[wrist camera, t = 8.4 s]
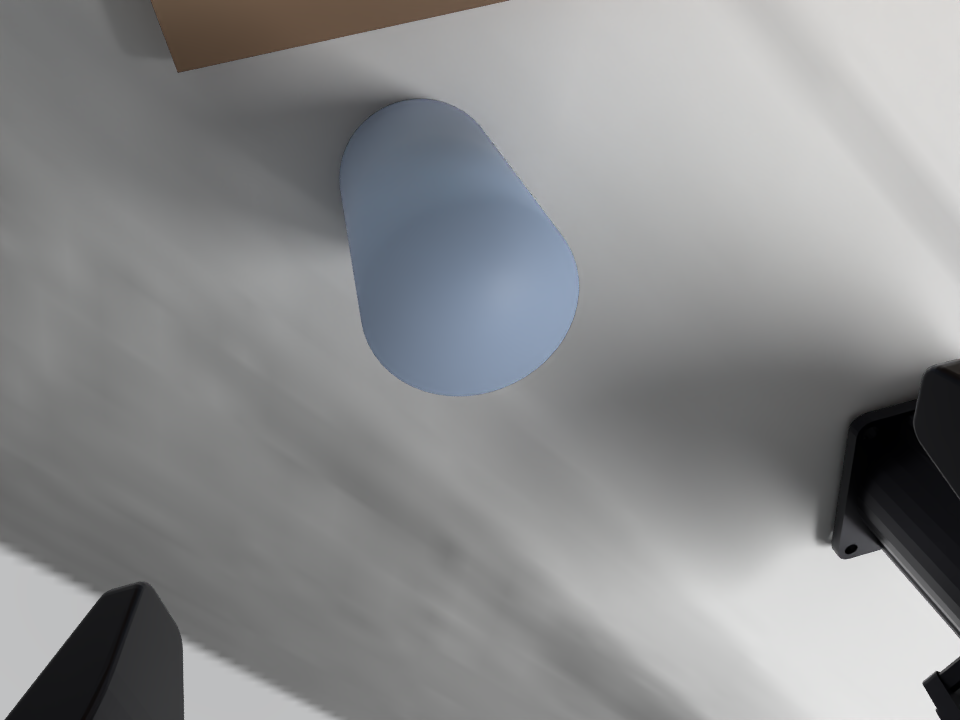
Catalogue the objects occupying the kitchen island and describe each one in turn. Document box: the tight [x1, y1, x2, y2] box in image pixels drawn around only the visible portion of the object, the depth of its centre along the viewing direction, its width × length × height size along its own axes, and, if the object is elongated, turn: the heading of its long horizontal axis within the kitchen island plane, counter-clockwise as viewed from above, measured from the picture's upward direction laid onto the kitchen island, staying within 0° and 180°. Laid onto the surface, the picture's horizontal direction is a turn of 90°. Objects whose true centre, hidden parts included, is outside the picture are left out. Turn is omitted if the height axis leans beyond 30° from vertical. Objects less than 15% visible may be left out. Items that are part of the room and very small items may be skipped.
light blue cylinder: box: [339, 99, 579, 396], centre depth 15 cm, size 4×4×6 cm
